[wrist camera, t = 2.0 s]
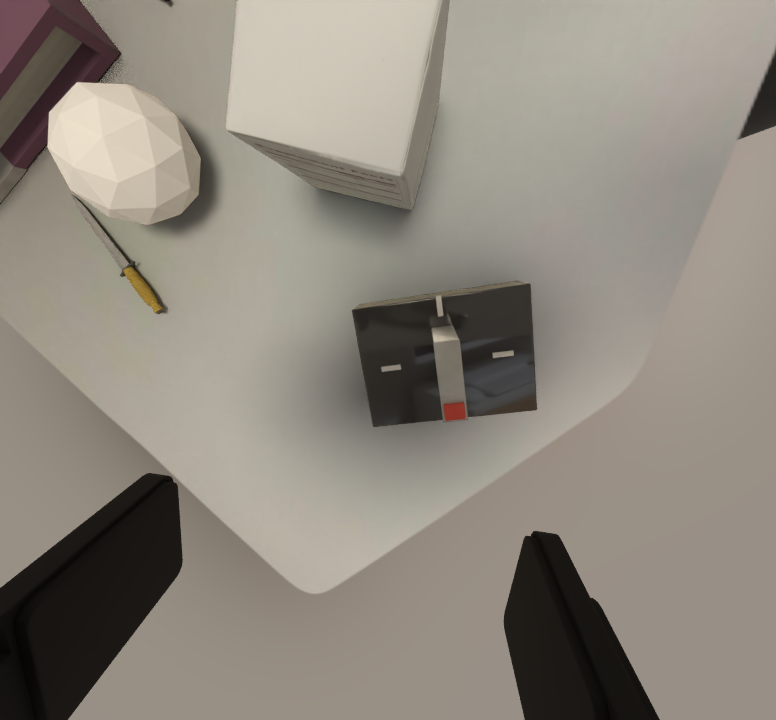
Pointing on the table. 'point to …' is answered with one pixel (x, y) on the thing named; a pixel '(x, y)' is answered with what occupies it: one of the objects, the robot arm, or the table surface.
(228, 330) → the table surface
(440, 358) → the box with red button
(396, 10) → the white packaging box
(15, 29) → the book
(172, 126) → the ball
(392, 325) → the panel
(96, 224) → the dagger
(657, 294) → the table surface
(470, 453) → the table surface
